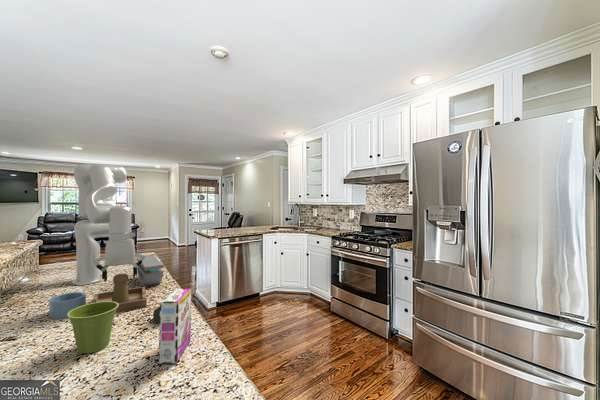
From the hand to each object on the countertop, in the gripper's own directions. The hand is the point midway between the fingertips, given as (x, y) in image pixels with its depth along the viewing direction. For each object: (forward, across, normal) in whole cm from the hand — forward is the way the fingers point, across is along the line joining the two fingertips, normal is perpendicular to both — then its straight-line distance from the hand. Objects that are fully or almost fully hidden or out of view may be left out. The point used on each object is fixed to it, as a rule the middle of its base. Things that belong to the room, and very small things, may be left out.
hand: (120, 278), depth 107 cm
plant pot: (+10, +5, +33) cm, 35 cm away
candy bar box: (+10, -15, +48) cm, 51 cm away
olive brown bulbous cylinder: (+9, 0, 0) cm, 10 cm away
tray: (+10, 0, 0) cm, 10 cm away
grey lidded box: (+11, -12, -26) cm, 30 cm away
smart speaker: (+11, -15, +24) cm, 30 cm away
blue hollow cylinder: (+10, +16, 0) cm, 19 cm away
